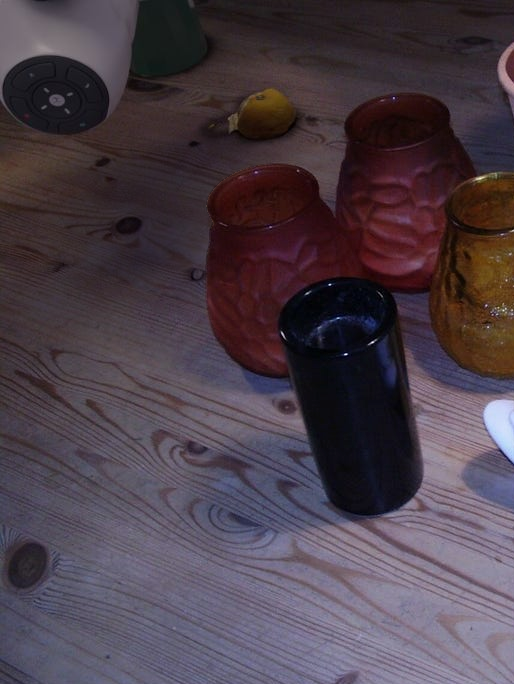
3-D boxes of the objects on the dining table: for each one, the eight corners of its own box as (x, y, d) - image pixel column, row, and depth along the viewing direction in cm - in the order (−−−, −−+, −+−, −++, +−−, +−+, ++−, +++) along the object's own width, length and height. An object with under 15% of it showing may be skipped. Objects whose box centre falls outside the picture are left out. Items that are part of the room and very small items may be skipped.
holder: (122, 85, 109) (87, -3, 102) (139, 45, 115) (107, -40, 108) (201, 76, 108) (172, -13, 101) (214, 37, 115) (187, -49, 108)
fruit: (259, 96, 104) (249, 64, 102) (318, 114, 100) (310, 82, 98) (202, 136, 100) (191, 104, 97) (262, 158, 96) (252, 125, 93)
